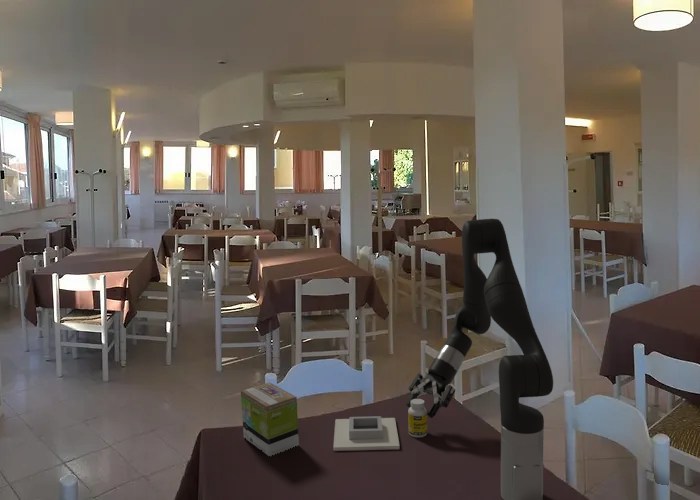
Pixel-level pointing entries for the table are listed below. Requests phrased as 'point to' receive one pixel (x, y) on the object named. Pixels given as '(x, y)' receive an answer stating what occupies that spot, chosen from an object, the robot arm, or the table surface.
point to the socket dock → (365, 434)
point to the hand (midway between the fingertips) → (418, 411)
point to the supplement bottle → (417, 418)
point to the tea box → (270, 418)
